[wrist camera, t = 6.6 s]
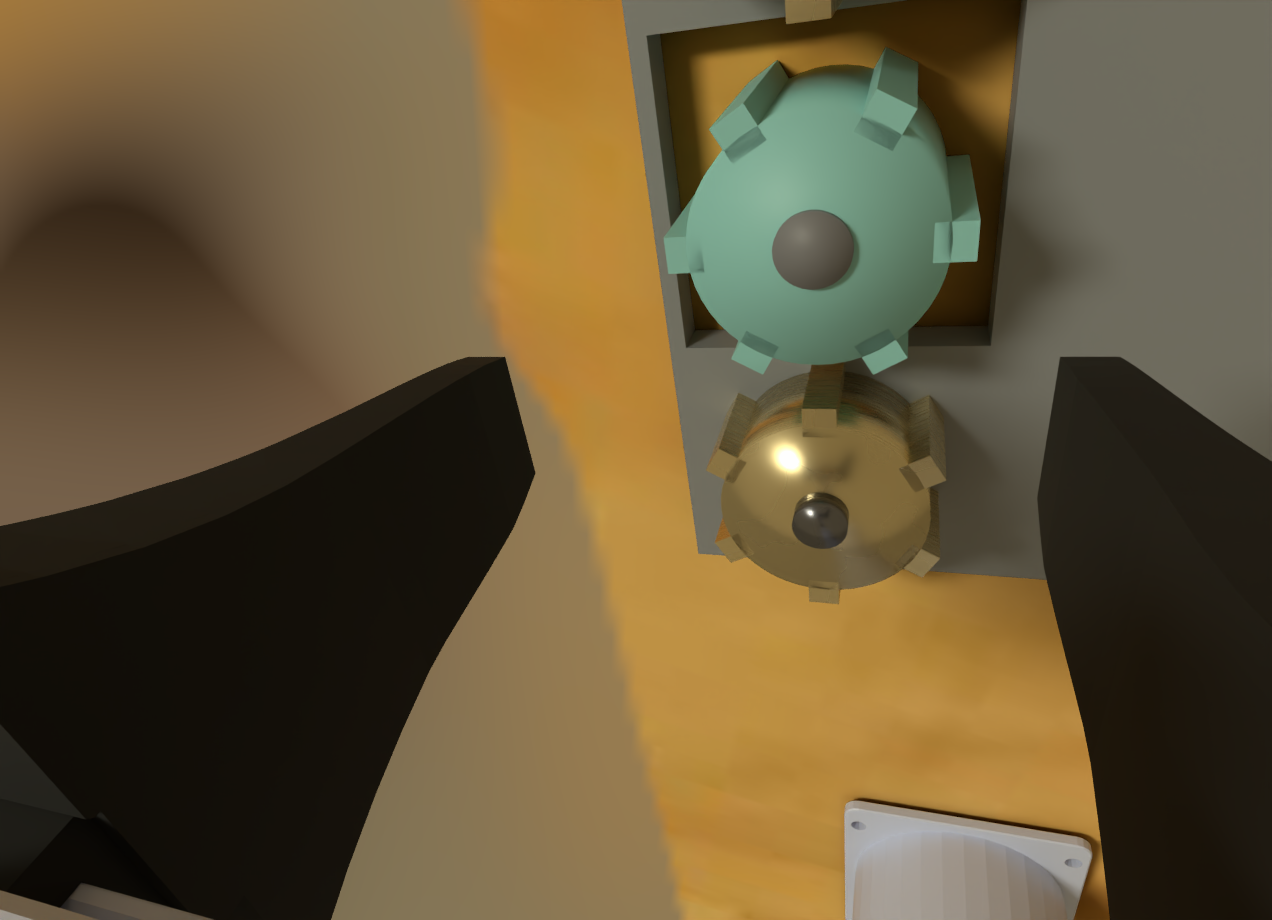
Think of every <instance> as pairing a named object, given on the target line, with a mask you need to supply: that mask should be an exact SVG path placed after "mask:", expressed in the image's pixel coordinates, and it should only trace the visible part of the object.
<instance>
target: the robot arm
mask: <svg viewBox="0 0 1272 920" xmlns="http://www.w3.org/2000/svg"><path fill="white" fill-rule="evenodd" d="M534 475H535V470H534V466H533V462H532V458H531V454H530V451H529V447H528V443H527V439H526V435H525V432H524V428H523V424H522V420H521V416H520V412H519V409H518V405H517V401H516V398H515V393H514V390H513V386H512V382H511V378H510V374H509V370H508V367H507V363H506V359H505V357H467V358H463V359H460V360H457V361H454V362H451V363H448V364H446V365H443V366H441V367H438V368H436V369H434V370H431V371H429V372H427V373H425V374H422V375H420V376H418V377H416V378H414V379H412V380H410V381H408V382H406V383H403V384H401V385H399V386H397V387H395V388H393V389H391V390H389V391H387V392H385V393H383V394H381V395H379V396H377V397H375V398H373V399H370V400H368V401H367V402H364V403H362V404H360V405H358V406H356V407H354V408H352V409H350V410H348V411H346V412H344V413H342V414H339V415H337V416H335V417H333V418H331V419H329V420H326V421H324V422H322V423H320V424H318V425H315V426H313V427H311V428H309V429H307V430H304V431H302V432H300V433H298V434H296V435H294V436H291V437H289V438H287V439H285V440H283V441H280V442H278V443H276V444H273V445H271V446H268V447H266V448H264V449H261V450H259V451H256V452H254V453H251V454H249V455H246V456H244V457H241V458H239V459H236V460H233V461H230V462H228V463H225V464H222V465H220V466H217V467H214V468H211V469H208V470H206V471H203V472H200V473H197V474H194V475H191V476H189V477H186V478H183V479H179V480H176V481H172V482H169V483H166V484H163V485H159V486H156V487H152V488H149V489H146V490H143V491H139V492H136V493H133V494H129V495H126V496H123V497H119V498H116V499H113V500H109V501H106V502H102V503H98V504H94V505H90V506H86V507H82V508H78V509H74V510H70V511H66V512H62V513H58V514H54V515H49V516H45V517H40V518H36V519H31V520H27V521H23V522H18V523H13V524H8V525H3V526H0V920H331V918H332V915H333V912H334V909H335V906H336V903H337V900H338V897H339V894H340V891H341V887H342V885H343V881H344V878H345V875H346V872H347V869H348V867H349V864H350V861H351V859H352V856H353V853H354V851H355V848H356V845H357V842H358V839H359V837H360V834H361V832H362V829H363V826H364V824H365V821H366V818H367V816H368V813H369V810H370V808H371V805H372V802H373V800H374V797H375V794H376V791H377V789H378V787H379V785H380V782H381V780H382V777H383V775H384V772H385V770H386V768H387V765H388V763H389V761H390V758H391V756H392V753H393V751H394V749H395V746H396V744H397V741H398V739H399V737H400V734H401V732H402V729H403V727H404V725H405V723H406V721H407V719H408V716H409V714H410V712H411V710H412V708H413V706H414V703H415V701H416V699H417V697H418V695H419V692H420V690H421V688H422V686H423V684H424V681H425V679H426V677H427V675H428V673H429V671H430V669H431V667H432V665H433V663H434V661H435V660H436V658H437V656H438V654H439V652H440V651H441V649H442V647H443V645H444V643H445V641H446V640H447V638H448V637H449V635H450V633H451V632H452V630H453V629H454V627H455V625H456V623H457V622H458V620H459V619H460V617H461V615H462V614H463V612H464V610H465V609H466V607H467V605H468V604H469V602H470V600H471V599H472V597H473V595H474V594H475V592H476V590H477V588H478V587H479V586H480V584H481V582H482V581H483V579H484V577H485V576H486V574H487V572H488V571H489V569H490V567H491V566H492V564H493V562H494V560H495V559H496V557H497V555H498V554H499V552H500V550H501V549H502V547H503V545H504V544H505V542H506V540H507V538H508V537H509V535H510V533H511V531H512V530H513V527H514V525H515V523H516V521H517V518H518V516H519V514H520V511H521V509H522V506H523V504H524V502H525V499H526V497H527V494H528V491H529V489H530V486H531V483H532V481H533V478H534ZM1037 502H1038V514H1039V526H1040V537H1041V547H1042V556H1043V566H1044V570H1045V575H1046V579H1047V583H1048V587H1049V591H1050V595H1051V600H1052V604H1053V608H1054V612H1055V616H1056V620H1057V624H1058V628H1059V632H1060V636H1061V640H1062V644H1063V648H1064V652H1065V656H1066V659H1067V663H1068V667H1069V671H1070V675H1071V679H1072V683H1073V687H1074V691H1075V695H1076V699H1077V703H1078V707H1079V711H1080V715H1081V719H1082V723H1083V727H1084V732H1085V737H1086V742H1087V747H1088V752H1089V757H1090V762H1091V769H1092V776H1093V784H1094V791H1095V799H1096V807H1097V814H1098V822H1099V830H1100V837H1101V845H1102V853H1103V862H1104V871H1105V879H1106V888H1107V897H1108V906H1109V914H1110V920H1272V461H1270V460H1269V459H1267V458H1266V457H1264V456H1263V455H1261V454H1260V453H1258V452H1257V451H1255V450H1253V449H1252V448H1250V447H1249V446H1247V445H1246V444H1244V443H1243V442H1241V441H1240V440H1238V439H1237V438H1235V437H1234V436H1232V435H1231V434H1229V433H1228V432H1226V431H1225V430H1224V429H1222V428H1221V427H1219V426H1218V425H1216V424H1215V423H1214V422H1212V421H1211V420H1209V419H1208V418H1206V417H1205V416H1204V415H1202V414H1201V413H1199V412H1198V411H1197V410H1195V409H1194V408H1192V407H1191V406H1190V405H1188V404H1187V403H1185V402H1184V401H1183V400H1181V399H1180V398H1179V397H1177V396H1176V395H1174V394H1173V393H1172V392H1170V391H1169V390H1168V389H1166V388H1165V387H1164V386H1162V385H1161V384H1159V383H1158V382H1157V381H1155V380H1154V379H1153V378H1151V377H1150V376H1148V375H1147V374H1146V373H1144V372H1143V371H1141V370H1140V369H1139V368H1137V367H1136V366H1134V365H1133V364H1131V363H1130V362H1128V361H1126V360H1125V359H1123V358H1121V357H1060V360H1059V366H1058V372H1057V379H1056V385H1055V391H1054V397H1053V403H1052V409H1051V415H1050V422H1049V428H1048V434H1047V440H1046V446H1045V452H1044V458H1043V465H1042V471H1041V477H1040V483H1039V489H1038V495H1037ZM844 817H845V920H1074V917H1075V913H1076V910H1077V906H1078V903H1079V900H1080V896H1081V893H1082V890H1083V886H1084V883H1085V880H1086V876H1087V873H1088V870H1089V866H1090V863H1091V860H1092V850H1091V845H1090V843H1089V842H1088V841H1086V840H1085V839H1083V838H1080V837H1077V836H1071V835H1065V834H1059V833H1053V832H1047V831H1041V830H1034V829H1028V828H1022V827H1016V826H1010V825H1004V824H998V823H992V822H986V821H980V820H974V819H968V818H962V817H955V816H949V815H943V814H937V813H931V812H925V811H919V810H913V809H907V808H901V807H895V806H889V805H883V804H876V803H870V802H864V801H856V800H854V801H850V802H848V803H847V804H846V806H845V814H844Z"/></svg>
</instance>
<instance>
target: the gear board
mask: <svg viewBox="0 0 1272 920" xmlns="http://www.w3.org/2000/svg"><path fill="white" fill-rule="evenodd" d="M897 1H905V0H622V6H623V13H624V20H625V27H626V35H627V42H628V49H629V56H630V63H631V71H632V78H633V85H634V92H635V99H636V107H637V114H638V121H639V128H640V135H641V143H642V150H643V157H644V164H645V171H646V179H647V186H648V193H649V200H650V207H651V215H652V222H653V229H654V236H655V243H656V251H657V258H658V265H659V272H660V279H661V287H662V294H663V301H664V308H665V315H666V323H667V330H668V337H669V344H670V351H671V359H672V366H673V373H674V380H675V387H676V395H677V402H678V409H679V416H680V423H681V431H682V438H683V445H684V452H685V459H686V467H687V474H688V481H689V488H690V495H691V503H692V510H693V517H694V524H695V531H696V539H697V546H698V553H699V554H712V555H725V556H726V557H727V558H728V560H729V561H730V562H734V561H737V560H739V559H742V558H745V557H748V558H749V559H751V560H752V561H753V562H754V563H755V564H757V565H758V566H760V567H761V568H763V569H764V570H766V571H767V572H769V573H771V574H773V575H775V576H777V577H779V578H781V579H784V580H786V581H789V582H792V583H795V584H798V585H802V586H807V587H809V601H810V602H821V603H832V604H839V598H840V589H852V588H858V587H864V586H867V585H871V584H874V583H877V582H880V581H882V580H885V579H887V578H889V577H890V576H892V575H894V574H896V573H897V572H899V571H900V570H902V569H906V570H908V571H910V572H912V573H914V574H916V575H918V576H920V577H923V576H924V575H925V574H926V573H927V572H928V571H937V572H950V573H963V574H976V575H990V576H1003V577H1016V578H1029V579H1043V580H1047V579H1046V575H1045V570H1044V566H1043V556H1042V547H1041V537H1040V526H1039V514H1038V502H1037V495H1038V489H1039V483H1040V477H1041V471H1042V465H1043V458H1044V452H1045V446H1046V440H1047V434H1048V428H1049V422H1050V415H1051V409H1052V403H1053V397H1054V391H1055V385H1056V379H1057V372H1058V366H1059V360H1060V357H1121V358H1123V359H1125V360H1126V361H1128V362H1130V363H1131V364H1133V365H1134V366H1136V367H1137V368H1139V369H1140V370H1141V371H1143V372H1144V373H1146V374H1147V375H1148V376H1150V377H1151V378H1153V379H1154V380H1155V381H1157V382H1158V383H1159V384H1161V385H1162V386H1164V387H1165V388H1166V389H1168V390H1169V391H1170V392H1172V393H1173V394H1174V395H1176V396H1177V397H1179V398H1180V399H1181V400H1183V401H1184V402H1185V403H1187V404H1188V405H1190V406H1191V407H1192V408H1194V409H1195V410H1197V411H1198V412H1199V413H1201V414H1202V415H1204V416H1205V417H1206V418H1208V419H1209V420H1211V421H1212V422H1214V423H1215V424H1216V425H1218V426H1219V427H1221V428H1222V429H1224V430H1225V431H1226V432H1228V433H1229V434H1231V435H1232V436H1234V437H1235V438H1237V439H1238V440H1240V441H1241V442H1243V443H1244V444H1246V445H1247V446H1249V447H1250V448H1252V449H1253V450H1255V451H1257V452H1258V453H1260V454H1261V455H1263V456H1264V457H1266V458H1267V459H1269V460H1270V461H1272V0H1021V6H1020V16H1019V25H1018V35H1017V45H1016V55H1015V65H1014V75H1013V84H1012V94H1011V104H1010V114H1009V124H1008V134H1007V143H1006V153H1005V163H1004V173H1003V183H1002V193H1001V202H1000V212H999V222H998V232H997V242H996V252H995V261H994V271H993V281H992V291H991V301H990V311H989V320H988V326H938V327H911V328H910V329H909V330H908V358H907V359H905V360H903V361H901V362H899V363H897V364H894V365H892V366H890V367H888V368H886V369H884V370H882V371H880V372H878V373H876V374H874V375H873V374H872V372H871V371H870V369H869V368H868V366H867V365H866V363H865V362H864V360H863V359H862V357H861V358H858V359H854V360H851V361H847V362H841V363H835V364H824V365H808V364H797V363H791V362H785V361H782V360H778V359H775V358H772V360H771V362H770V363H769V365H768V367H767V369H766V370H765V372H764V374H763V375H762V374H760V373H758V372H756V371H754V370H752V369H750V368H748V367H746V366H744V365H742V364H740V363H738V362H736V361H734V360H732V359H731V358H732V356H733V353H734V351H735V348H736V346H737V343H738V340H737V339H736V338H734V337H733V336H732V335H730V334H729V333H728V332H727V331H726V330H695V326H694V317H693V309H692V300H691V292H690V283H689V275H688V273H679V274H668V267H667V260H666V253H665V245H664V236H665V235H666V234H667V232H668V231H669V230H670V228H671V227H672V225H673V224H674V223H675V221H676V220H677V218H678V217H679V216H680V214H681V207H680V199H679V190H678V182H677V173H676V165H675V157H674V148H673V140H672V131H671V123H670V114H669V106H668V97H667V89H666V80H665V72H664V64H663V55H662V47H661V38H660V34H662V33H670V32H677V31H684V30H692V29H699V28H706V27H714V26H721V25H728V24H736V23H743V22H750V21H758V20H765V19H772V18H780V17H786V24H792V23H799V22H807V21H814V20H822V19H829V18H832V16H833V15H834V13H835V12H836V10H839V9H846V8H853V7H861V6H868V5H875V4H883V3H890V2H897Z"/></svg>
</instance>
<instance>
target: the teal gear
mask: <svg viewBox="0 0 1272 920" xmlns="http://www.w3.org/2000/svg"><path fill="white" fill-rule="evenodd" d="M709 130H710V132H711V133H712V135H713V136H714V138H715V139H716V141H717V142H718V144H719V145H720V146H721V148H722V149H723V150H722V151H721V153H720V154H719V155H718V157H717V158H716V159H715V161H714V162H713V164H712V165H711V167H710V168H709V169H708V171H707V172H706V174H705V175H704V177H703V179H702V181H701V183H700V185H699V187H698V189H697V191H696V193H695V195H694V196H693V198H692V199H691V200H690V202H689V203H688V204H687V206H686V207H685V209H684V210H683V211H682V213H681V214H680V216H679V217H678V218H677V220H676V221H675V223H674V224H673V225H672V227H671V228H670V230H669V231H668V232H667V234H666V235H665V236H664V245H665V253H666V260H667V267H668V274H679V273H691V276H692V279H693V283H694V286H695V288H696V290H697V292H698V294H699V296H700V298H701V300H702V302H703V303H704V305H705V306H706V308H707V309H708V311H709V312H710V314H711V315H712V316H713V317H714V318H715V320H716V321H717V322H718V323H719V324H720V325H721V326H722V327H723V328H724V329H725V330H726V331H727V332H728V333H729V334H730V335H732V336H733V337H734V338H736V339H737V340H738V343H737V346H736V348H735V351H734V353H733V356H732V358H731V359H732V360H734V361H736V362H738V363H740V364H742V365H744V366H746V367H748V368H750V369H752V370H754V371H756V372H758V373H760V374H762V375H763V374H764V372H765V370H766V369H767V367H768V365H769V363H770V362H771V360H772V358H775V359H778V360H782V361H785V362H791V363H797V364H808V365H824V364H835V363H841V362H847V361H851V360H854V359H858V358H861V357H862V359H863V360H864V362H865V363H866V365H867V366H868V368H869V369H870V371H871V372H872V374H873V375H874V374H876V373H878V372H880V371H882V370H884V369H886V368H888V367H890V366H892V365H894V364H897V363H899V362H901V361H903V360H905V359H907V358H908V330H909V329H910V328H911V327H912V326H913V325H915V324H916V323H917V322H918V321H919V320H920V318H921V317H922V316H923V315H924V313H925V312H926V311H927V310H928V308H929V307H930V306H931V304H932V302H933V301H934V299H935V298H936V296H937V294H938V293H939V291H940V288H941V286H942V284H943V282H944V279H945V277H946V274H947V270H948V267H949V263H950V262H974V261H977V257H978V246H979V234H980V222H981V219H980V213H979V208H978V202H977V196H976V190H975V185H974V179H973V173H972V167H971V162H970V156H969V155H957V156H946V149H945V143H944V140H943V137H942V133H941V130H940V128H939V126H938V124H937V121H936V119H935V117H934V115H933V114H932V112H931V111H930V109H929V108H928V106H927V105H926V103H925V102H924V101H923V100H922V99H921V98H920V97H919V96H918V62H916V61H914V60H912V59H910V58H908V57H906V56H904V55H902V54H900V53H898V52H896V51H894V50H892V49H890V48H888V47H885V49H884V51H883V53H882V55H881V57H880V59H879V61H878V62H877V64H876V66H875V68H874V69H872V68H868V67H864V66H857V65H829V66H824V67H819V68H814V69H811V70H808V71H805V72H802V73H800V74H798V75H796V76H794V77H791V78H788V76H787V75H786V73H785V71H784V70H783V68H782V67H781V65H780V63H779V62H778V60H777V61H775V62H774V63H773V64H772V65H770V66H769V67H768V68H766V69H765V70H764V71H763V72H761V73H760V74H759V75H758V76H756V77H755V78H754V79H752V80H751V81H750V82H749V83H748V84H747V85H746V86H745V87H744V89H743V90H742V91H741V92H740V93H739V94H738V96H737V97H736V98H735V99H734V100H733V102H732V103H731V104H730V105H729V106H728V107H727V109H726V110H725V111H724V112H723V113H722V114H721V116H720V117H719V118H718V119H717V120H716V122H715V123H714V124H713V125H712V126H711V127H710V129H709Z"/></svg>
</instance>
